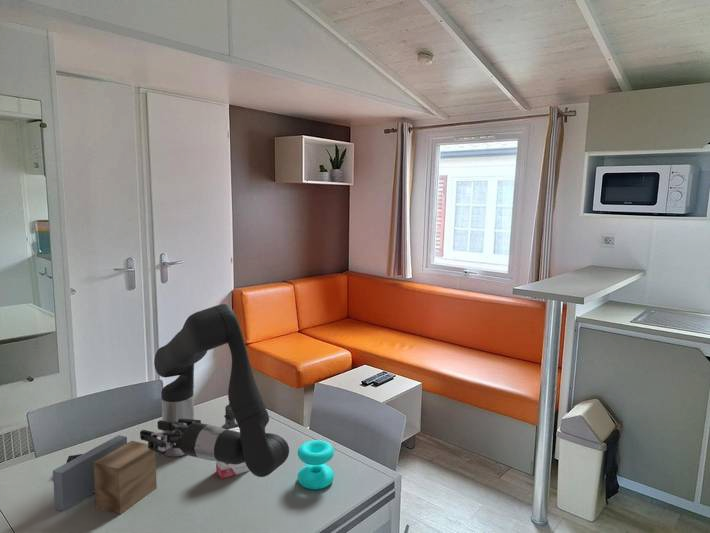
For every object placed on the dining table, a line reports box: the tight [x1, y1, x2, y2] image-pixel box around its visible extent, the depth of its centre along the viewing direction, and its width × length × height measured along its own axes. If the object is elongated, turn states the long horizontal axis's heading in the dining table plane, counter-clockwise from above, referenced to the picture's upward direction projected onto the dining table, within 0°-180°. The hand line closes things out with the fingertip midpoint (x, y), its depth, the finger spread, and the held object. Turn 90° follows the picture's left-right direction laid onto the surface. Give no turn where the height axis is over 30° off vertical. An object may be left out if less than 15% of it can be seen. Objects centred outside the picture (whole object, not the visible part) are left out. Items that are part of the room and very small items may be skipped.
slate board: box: [52, 434, 128, 512], centre depth 125 cm, size 3×20×10 cm, turn 160°
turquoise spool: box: [297, 439, 335, 490], centre depth 130 cm, size 10×10×10 cm
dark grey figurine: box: [220, 403, 238, 430], centre depth 155 cm, size 6×6×12 cm
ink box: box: [215, 427, 251, 480], centre depth 134 cm, size 8×5×12 cm, turn 123°
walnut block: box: [94, 440, 158, 516], centre depth 121 cm, size 8×12×12 cm, turn 160°
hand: (150, 429), depth 117 cm, fingers open, 5 cm apart
